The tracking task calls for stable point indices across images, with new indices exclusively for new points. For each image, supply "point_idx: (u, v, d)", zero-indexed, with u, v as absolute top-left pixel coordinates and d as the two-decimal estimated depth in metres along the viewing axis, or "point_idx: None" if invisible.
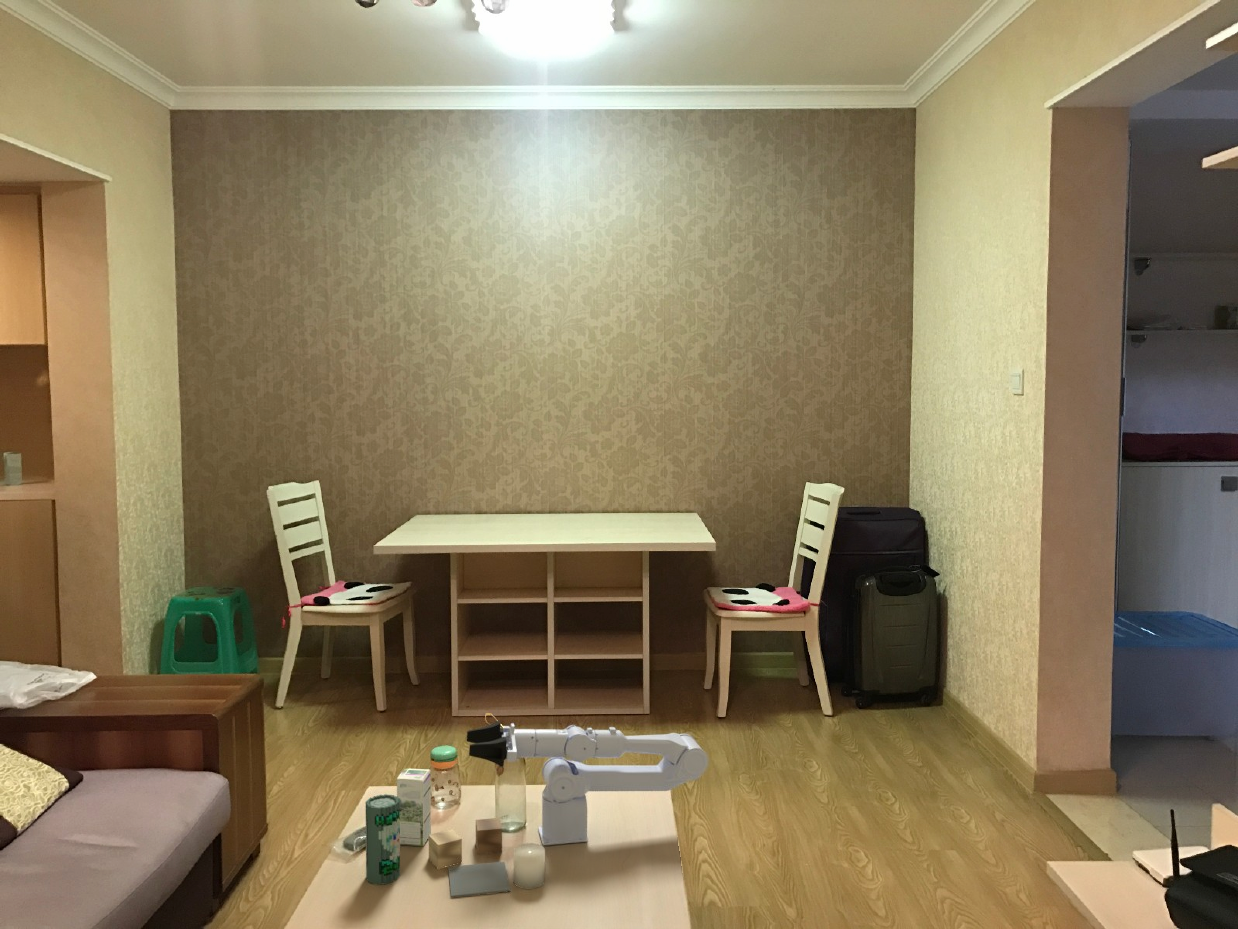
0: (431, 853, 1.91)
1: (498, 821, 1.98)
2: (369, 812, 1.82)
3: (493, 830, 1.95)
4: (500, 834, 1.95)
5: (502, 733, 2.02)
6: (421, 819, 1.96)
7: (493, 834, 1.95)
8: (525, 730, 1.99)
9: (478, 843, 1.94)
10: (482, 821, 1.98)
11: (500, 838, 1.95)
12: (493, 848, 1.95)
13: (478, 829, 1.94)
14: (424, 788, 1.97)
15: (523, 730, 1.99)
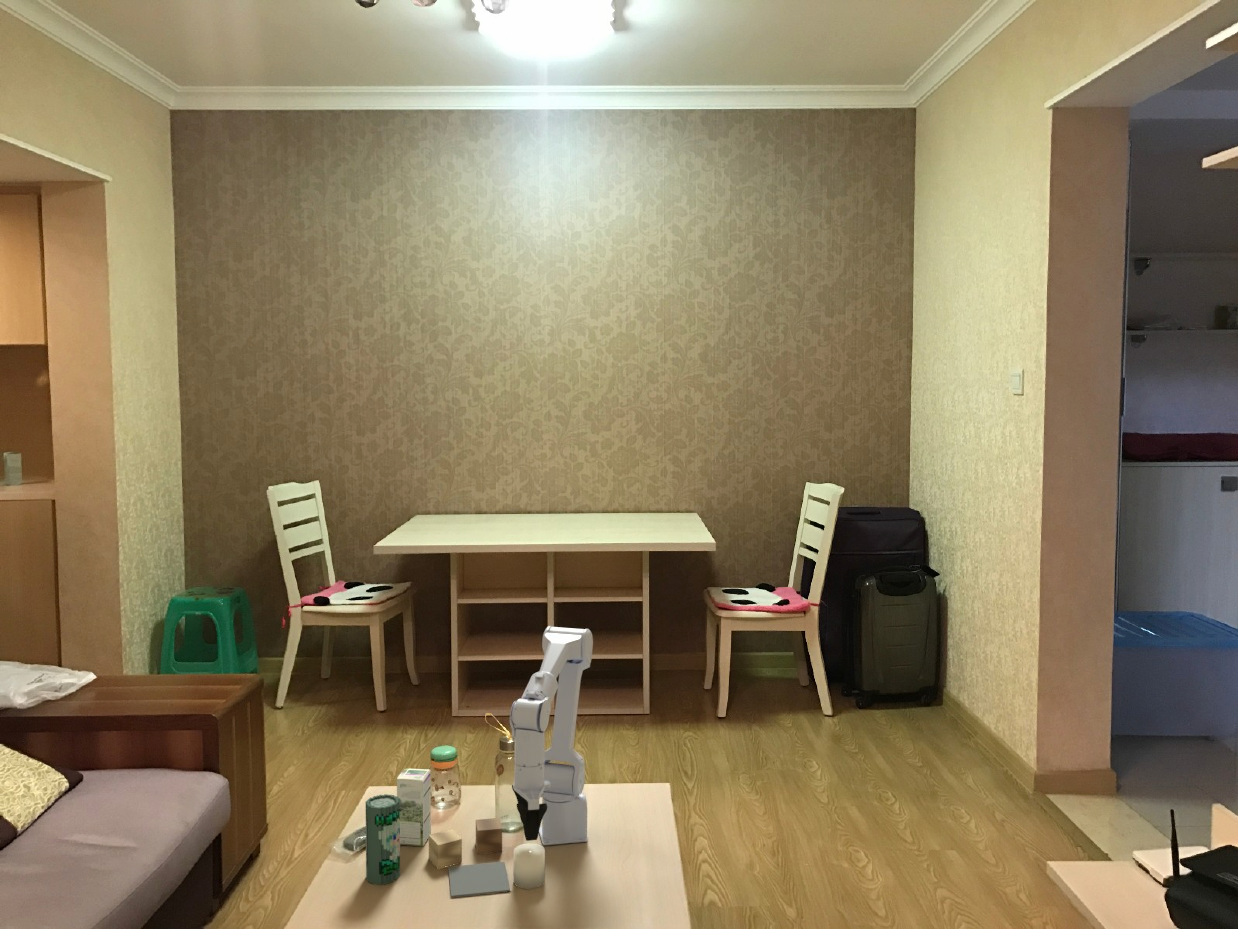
0: (431, 853, 1.91)
1: (498, 821, 1.98)
2: (369, 812, 1.82)
3: (493, 830, 1.95)
4: (500, 834, 1.95)
5: None
6: (421, 819, 1.96)
7: (493, 834, 1.95)
8: None
9: (478, 843, 1.94)
10: (482, 821, 1.98)
11: (500, 838, 1.95)
12: (493, 848, 1.95)
13: (478, 829, 1.94)
14: (424, 788, 1.97)
15: None
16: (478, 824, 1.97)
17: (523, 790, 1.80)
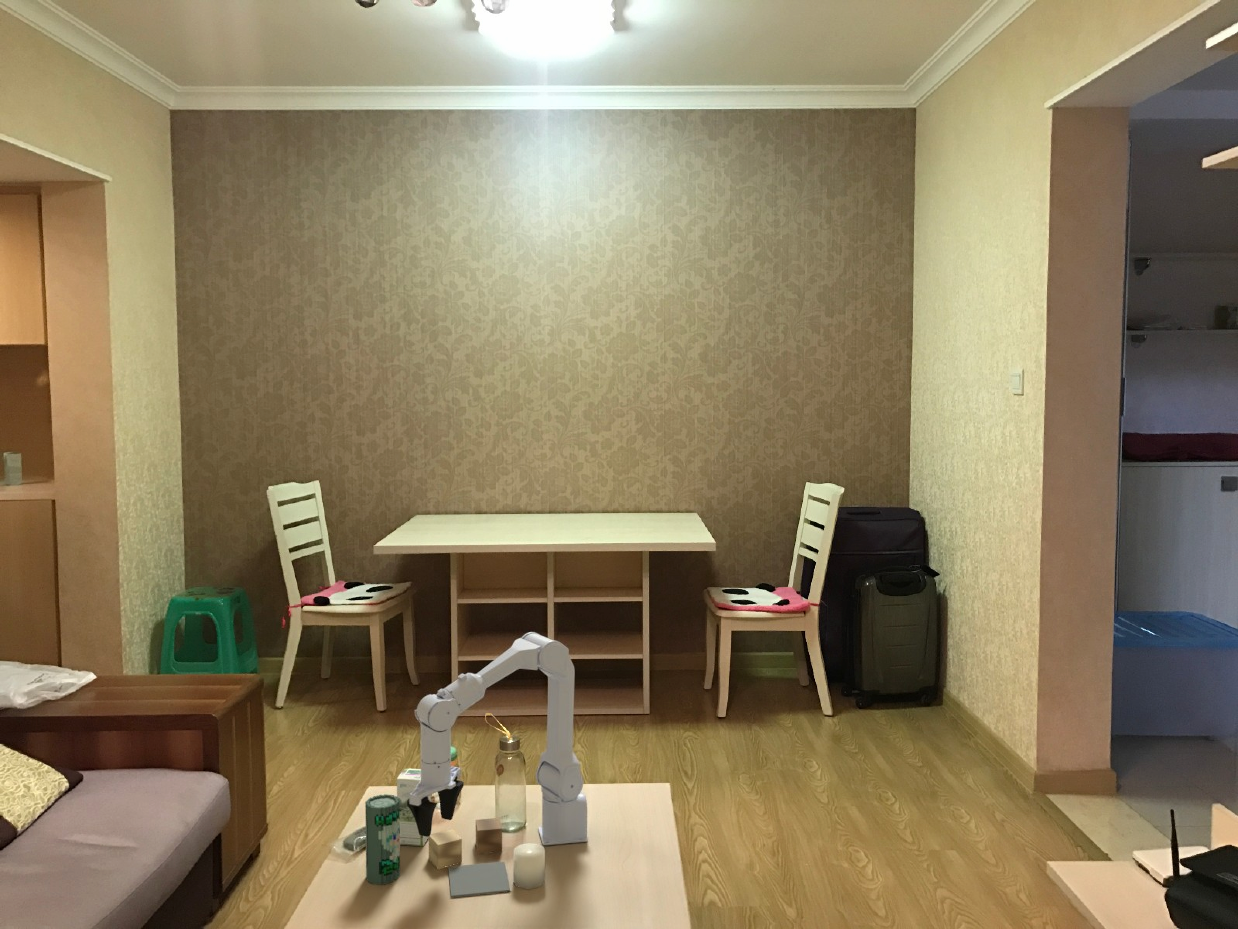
0: (431, 853, 1.91)
1: (498, 821, 1.98)
2: (369, 812, 1.82)
3: (493, 830, 1.95)
4: (500, 834, 1.95)
5: None
6: None
7: (493, 834, 1.95)
8: (448, 770, 1.83)
9: (478, 843, 1.94)
10: (482, 821, 1.98)
11: (500, 838, 1.95)
12: (493, 848, 1.95)
13: (478, 829, 1.94)
14: None
15: (448, 772, 1.83)
16: (478, 824, 1.97)
17: (421, 784, 1.82)
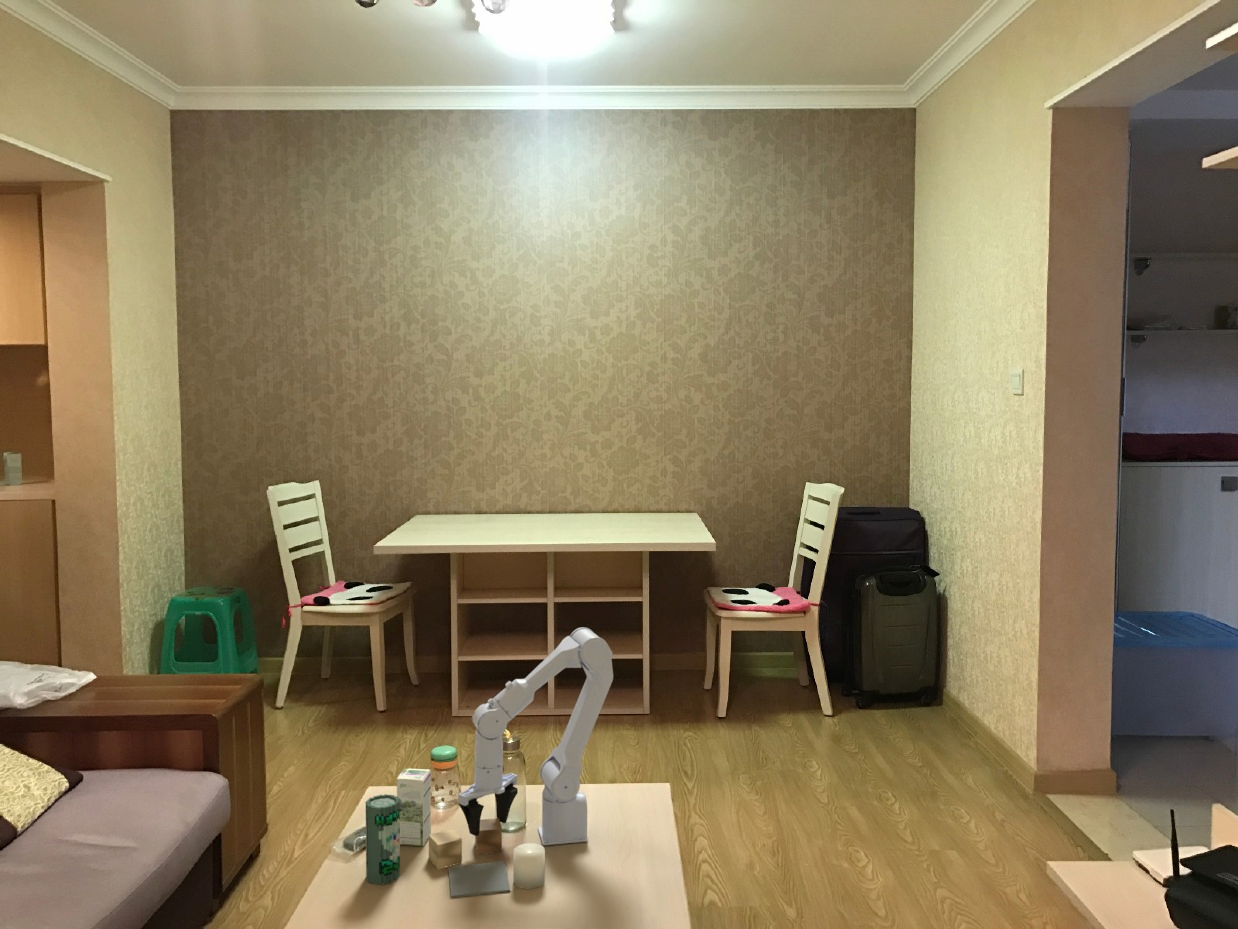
0: (431, 853, 1.91)
1: (498, 821, 1.98)
2: (369, 812, 1.82)
3: (493, 830, 1.95)
4: (500, 834, 1.95)
5: None
6: (421, 819, 1.96)
7: (493, 835, 1.95)
8: (498, 776, 1.94)
9: (478, 843, 1.94)
10: (482, 821, 1.98)
11: (500, 838, 1.95)
12: (493, 848, 1.95)
13: None
14: (424, 788, 1.97)
15: (498, 778, 1.94)
16: None
17: (474, 786, 1.95)
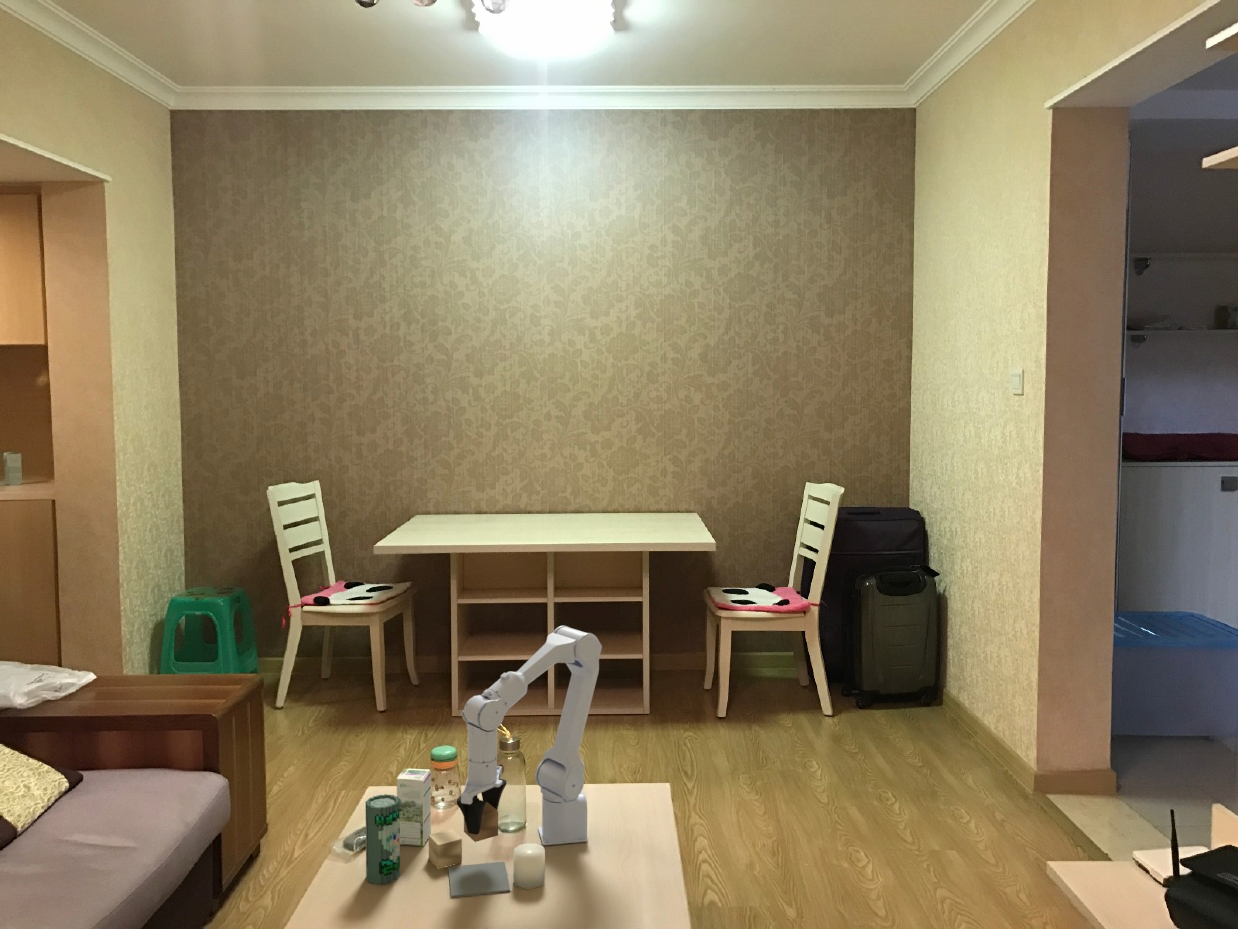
0: (431, 853, 1.91)
1: (488, 805, 1.90)
2: (369, 812, 1.82)
3: (490, 814, 1.87)
4: (496, 817, 1.88)
5: None
6: (421, 819, 1.96)
7: (490, 818, 1.87)
8: (496, 769, 1.87)
9: None
10: None
11: (496, 821, 1.88)
12: (490, 833, 1.87)
13: None
14: (424, 788, 1.97)
15: (496, 771, 1.87)
16: None
17: (469, 784, 1.86)
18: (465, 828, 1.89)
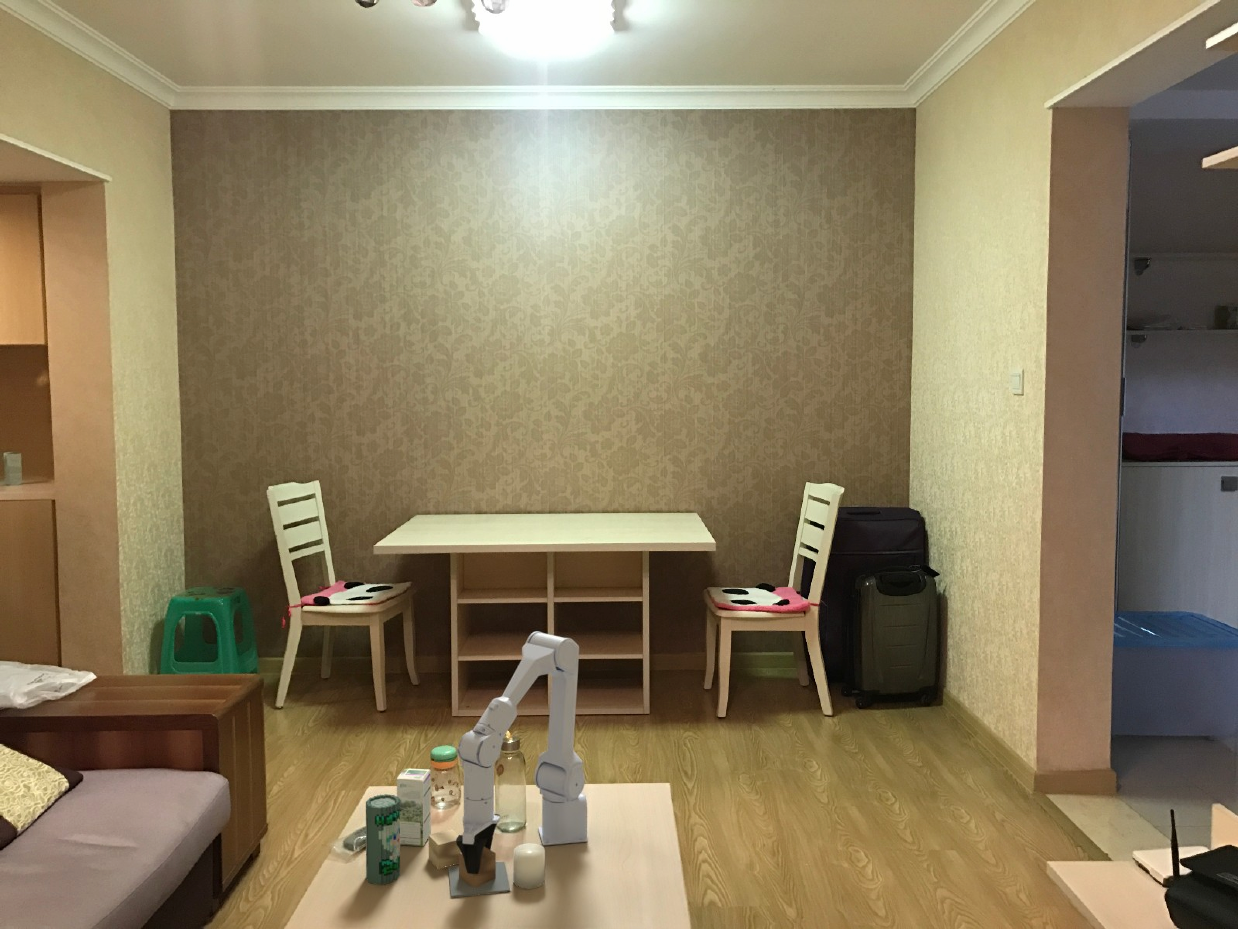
0: (431, 853, 1.91)
1: None
2: (369, 812, 1.82)
3: (488, 857, 1.82)
4: (494, 859, 1.83)
5: None
6: (421, 819, 1.96)
7: (488, 862, 1.82)
8: (493, 805, 1.83)
9: (475, 875, 1.80)
10: None
11: (494, 864, 1.83)
12: (488, 876, 1.83)
13: None
14: (424, 788, 1.97)
15: (493, 807, 1.83)
16: None
17: (467, 822, 1.81)
18: (461, 874, 1.83)
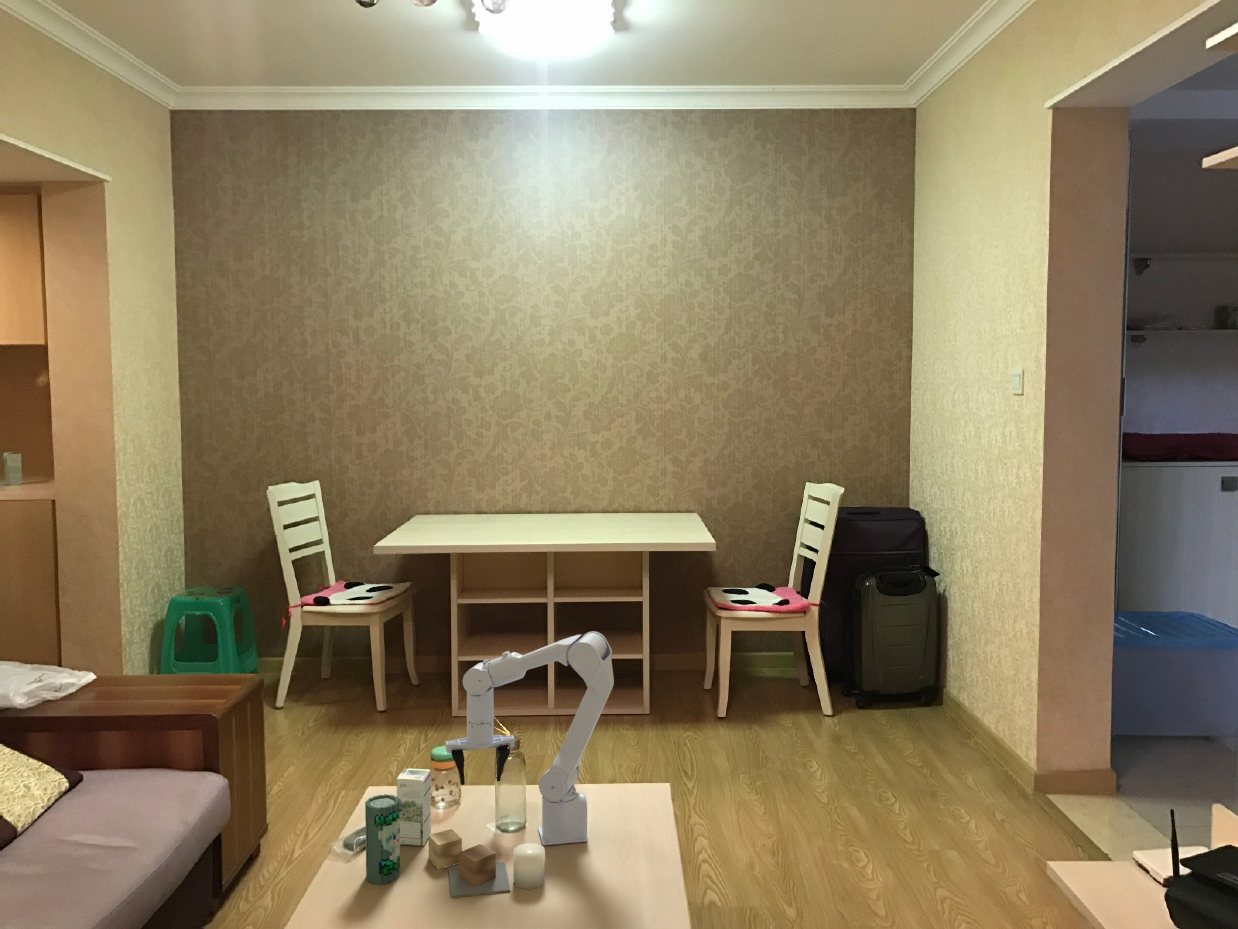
0: (431, 853, 1.91)
1: (483, 847, 1.86)
2: (369, 812, 1.82)
3: (488, 857, 1.82)
4: (494, 859, 1.84)
5: (462, 750, 2.04)
6: (421, 819, 1.96)
7: (488, 861, 1.83)
8: (483, 733, 2.02)
9: (475, 875, 1.80)
10: (467, 852, 1.84)
11: (494, 863, 1.84)
12: (488, 876, 1.83)
13: (474, 860, 1.81)
14: (424, 788, 1.97)
15: (483, 735, 2.02)
16: (467, 855, 1.82)
17: (467, 739, 2.06)
18: (461, 873, 1.83)
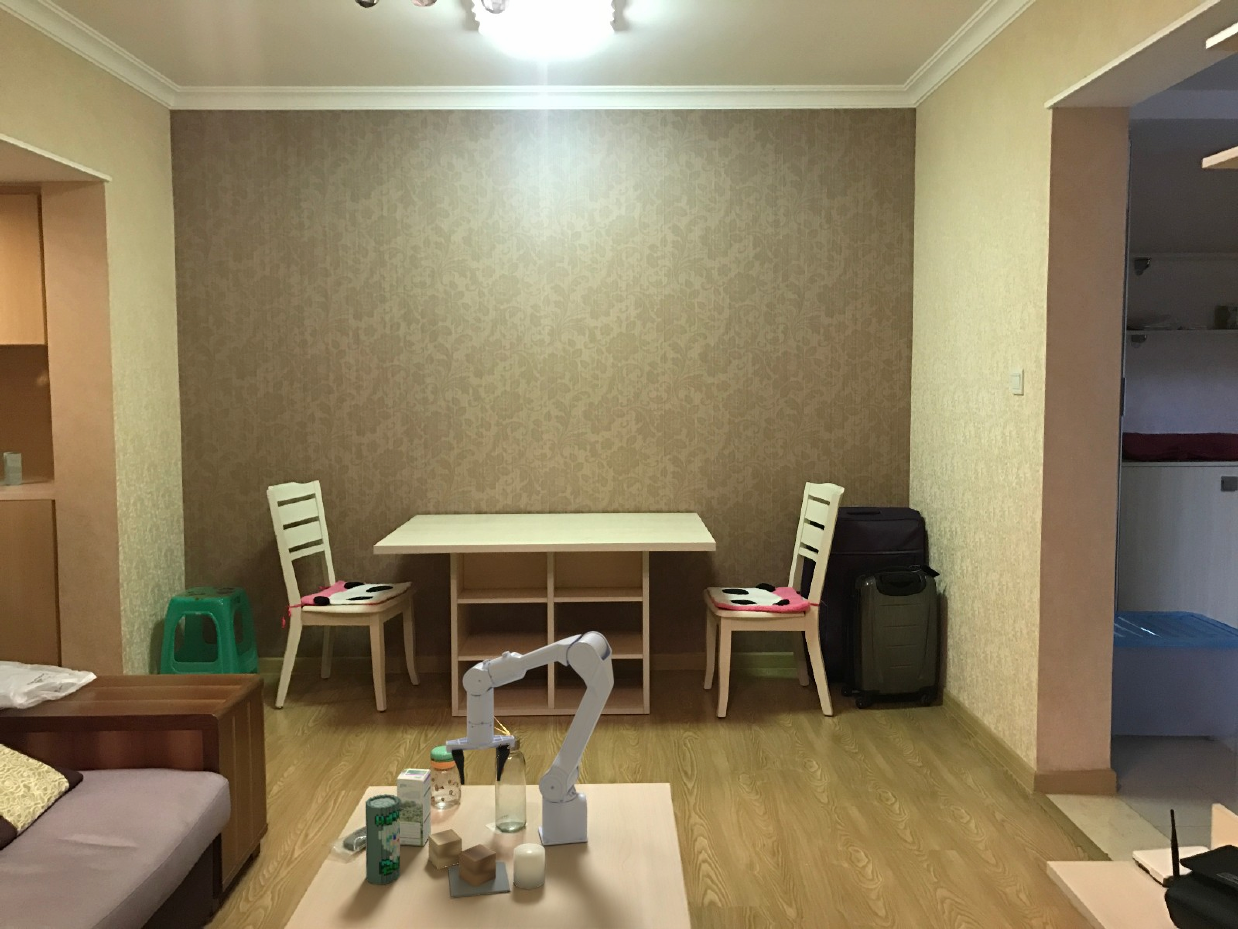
0: (431, 853, 1.91)
1: (483, 847, 1.86)
2: (369, 812, 1.82)
3: (488, 857, 1.82)
4: (494, 859, 1.84)
5: (462, 750, 2.04)
6: (421, 819, 1.96)
7: (488, 861, 1.83)
8: (483, 733, 2.02)
9: (475, 875, 1.80)
10: (467, 852, 1.84)
11: (494, 863, 1.84)
12: (488, 876, 1.83)
13: (474, 860, 1.81)
14: (424, 788, 1.97)
15: (483, 735, 2.02)
16: (467, 855, 1.82)
17: (467, 738, 2.06)
18: (461, 873, 1.83)
